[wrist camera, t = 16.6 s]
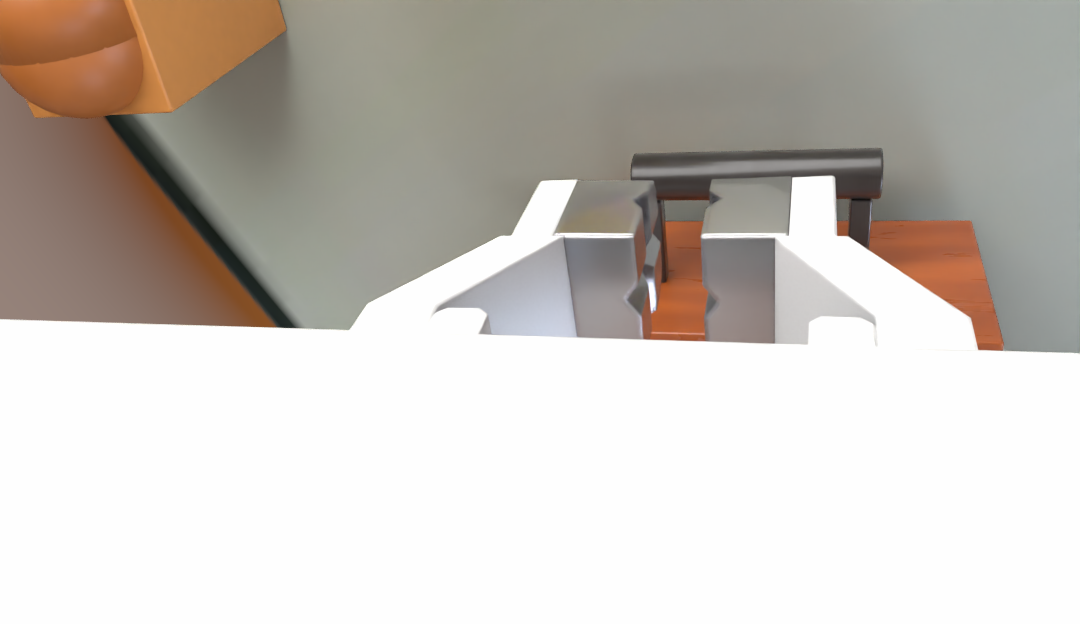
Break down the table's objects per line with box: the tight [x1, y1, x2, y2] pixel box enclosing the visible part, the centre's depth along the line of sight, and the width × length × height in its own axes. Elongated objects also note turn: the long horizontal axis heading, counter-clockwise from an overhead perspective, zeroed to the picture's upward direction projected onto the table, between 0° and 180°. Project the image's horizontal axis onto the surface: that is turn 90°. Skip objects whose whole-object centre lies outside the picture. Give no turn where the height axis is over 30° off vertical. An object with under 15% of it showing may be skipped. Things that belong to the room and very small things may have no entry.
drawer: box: [631, 148, 1004, 351], centre depth 32 cm, size 19×13×7 cm
